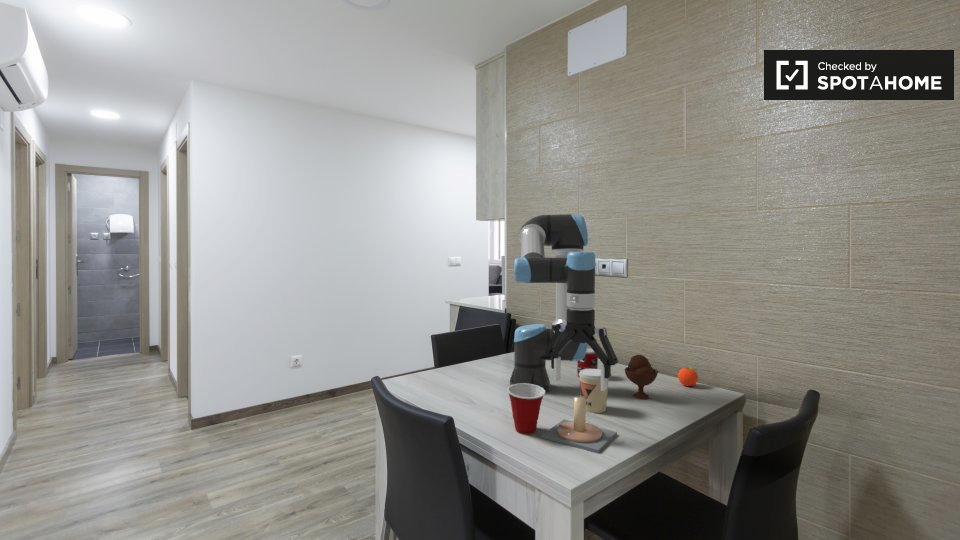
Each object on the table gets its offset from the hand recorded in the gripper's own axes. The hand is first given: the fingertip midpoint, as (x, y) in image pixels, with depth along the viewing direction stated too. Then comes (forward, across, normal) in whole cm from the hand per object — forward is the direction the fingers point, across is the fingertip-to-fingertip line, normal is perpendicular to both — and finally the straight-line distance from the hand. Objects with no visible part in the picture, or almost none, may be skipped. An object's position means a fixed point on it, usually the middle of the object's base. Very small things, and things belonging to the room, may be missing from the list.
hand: (579, 385), depth 123 cm
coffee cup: (+15, -5, +22) cm, 27 cm away
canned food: (+16, -21, +56) cm, 62 cm away
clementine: (+16, +15, +67) cm, 71 cm away
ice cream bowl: (+15, +4, +43) cm, 46 cm away
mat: (+14, 0, -1) cm, 14 cm away
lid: (+13, 0, -1) cm, 13 cm away
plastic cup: (+14, -14, -6) cm, 21 cm away
